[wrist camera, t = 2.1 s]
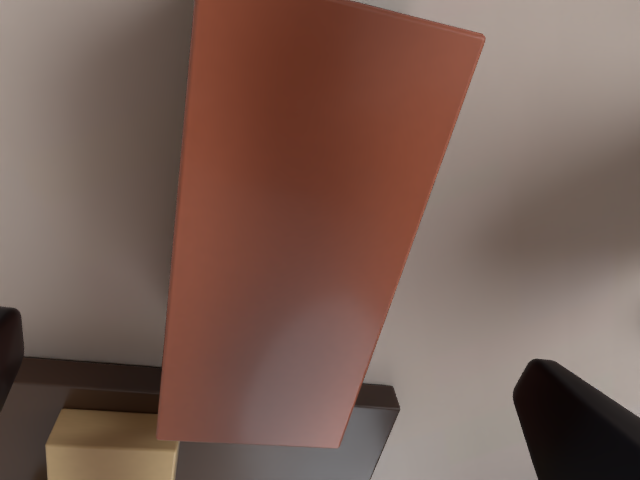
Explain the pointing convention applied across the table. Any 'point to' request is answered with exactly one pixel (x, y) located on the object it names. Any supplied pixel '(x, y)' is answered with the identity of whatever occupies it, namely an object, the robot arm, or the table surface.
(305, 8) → the reddish orange block
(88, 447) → the cork bit
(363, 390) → the board
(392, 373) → the table surface
